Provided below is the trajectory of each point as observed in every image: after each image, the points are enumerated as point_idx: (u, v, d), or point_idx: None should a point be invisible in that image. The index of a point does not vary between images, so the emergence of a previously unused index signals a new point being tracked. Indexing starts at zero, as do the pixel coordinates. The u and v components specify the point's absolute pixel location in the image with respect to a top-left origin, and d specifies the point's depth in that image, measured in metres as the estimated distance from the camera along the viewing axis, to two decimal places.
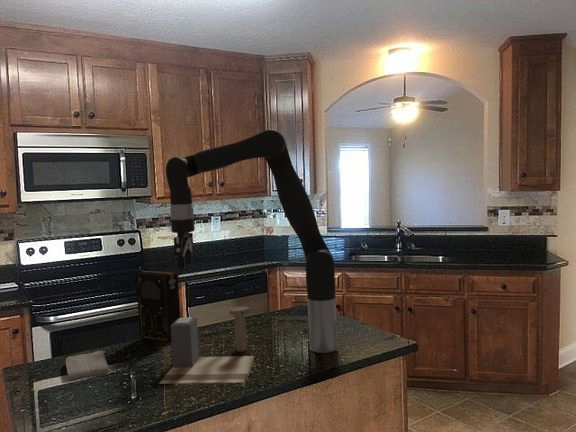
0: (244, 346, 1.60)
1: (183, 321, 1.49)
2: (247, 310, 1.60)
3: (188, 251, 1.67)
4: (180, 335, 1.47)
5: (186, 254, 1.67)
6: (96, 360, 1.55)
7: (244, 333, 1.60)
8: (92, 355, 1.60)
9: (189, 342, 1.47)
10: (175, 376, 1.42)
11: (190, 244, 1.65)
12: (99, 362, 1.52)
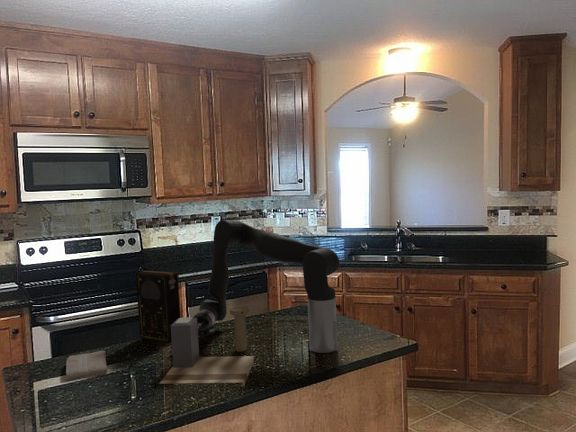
0: (244, 346, 1.60)
1: (183, 321, 1.49)
2: (247, 310, 1.60)
3: None
4: (180, 335, 1.47)
5: None
6: (96, 360, 1.54)
7: (244, 333, 1.60)
8: (93, 355, 1.60)
9: (189, 342, 1.47)
10: (175, 376, 1.42)
11: None
12: (98, 363, 1.52)
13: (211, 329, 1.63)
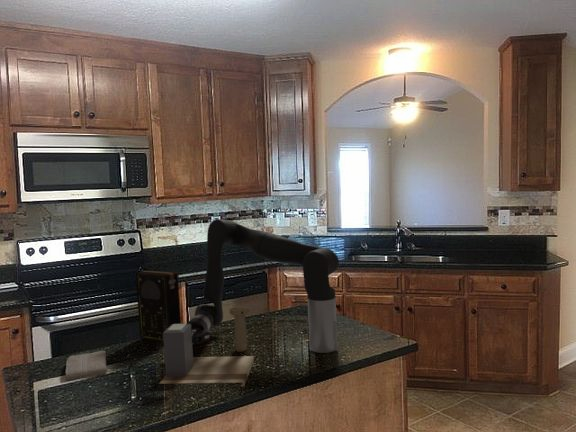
0: (244, 346, 1.60)
1: (176, 328, 1.43)
2: (247, 310, 1.60)
3: None
4: (173, 343, 1.41)
5: None
6: (96, 360, 1.54)
7: (244, 333, 1.60)
8: (94, 355, 1.60)
9: (182, 350, 1.40)
10: None
11: (191, 332, 1.56)
12: (98, 363, 1.52)
13: (206, 335, 1.56)
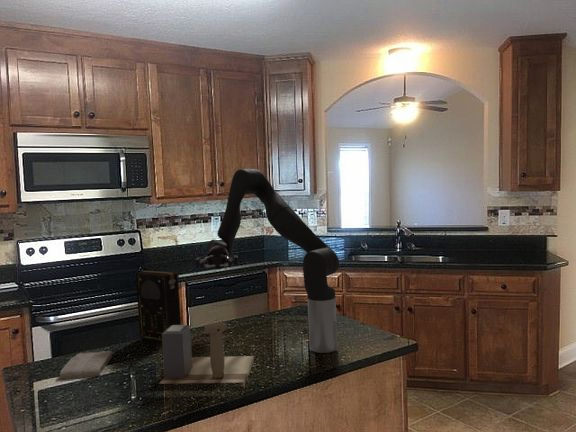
0: (221, 368, 1.38)
1: (175, 329, 1.41)
2: (224, 327, 1.38)
3: None
4: (172, 344, 1.39)
5: None
6: (95, 361, 1.54)
7: (221, 353, 1.38)
8: (98, 355, 1.60)
9: (181, 351, 1.39)
10: None
11: (222, 256, 1.66)
12: (95, 364, 1.51)
13: None
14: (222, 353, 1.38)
